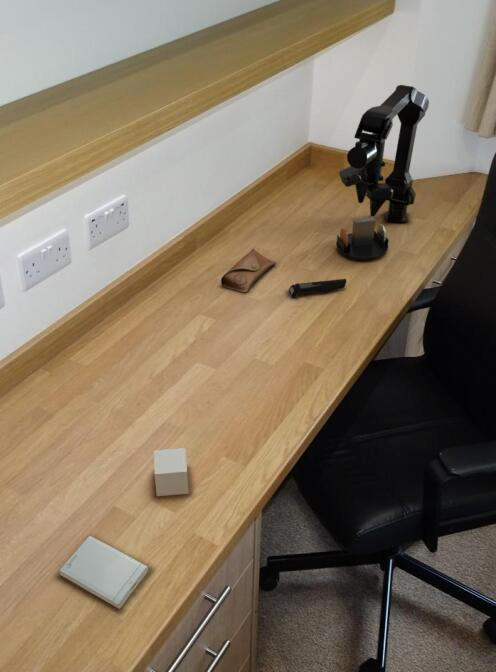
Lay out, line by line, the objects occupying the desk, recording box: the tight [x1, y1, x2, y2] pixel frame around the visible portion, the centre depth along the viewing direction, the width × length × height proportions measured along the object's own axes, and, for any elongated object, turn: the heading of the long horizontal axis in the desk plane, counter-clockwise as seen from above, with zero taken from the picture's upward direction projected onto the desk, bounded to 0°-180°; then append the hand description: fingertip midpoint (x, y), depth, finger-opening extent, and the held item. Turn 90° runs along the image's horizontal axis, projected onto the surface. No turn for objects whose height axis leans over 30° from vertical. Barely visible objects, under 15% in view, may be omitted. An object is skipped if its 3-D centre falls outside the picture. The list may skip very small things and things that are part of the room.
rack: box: [335, 216, 390, 260], centre depth 204 cm, size 15×15×9 cm
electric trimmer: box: [288, 278, 347, 298], centre depth 188 cm, size 4×16×3 cm, turn 100°
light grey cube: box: [153, 447, 189, 497], centre depth 133 cm, size 6×6×6 cm
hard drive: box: [59, 535, 149, 610], centre depth 118 cm, size 2×8×12 cm
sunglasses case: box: [220, 248, 276, 293], centre depth 196 cm, size 18×7×7 cm
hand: (366, 209), depth 200 cm, fingers open, 9 cm apart
